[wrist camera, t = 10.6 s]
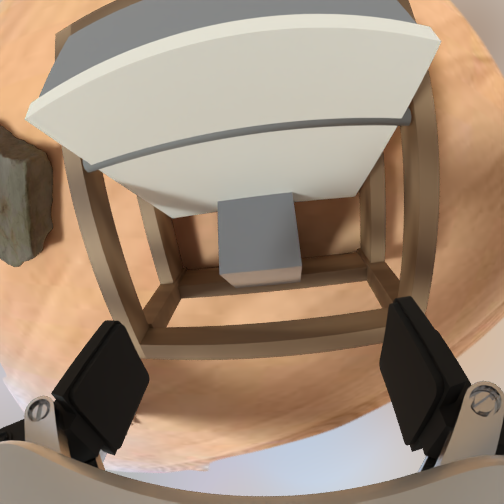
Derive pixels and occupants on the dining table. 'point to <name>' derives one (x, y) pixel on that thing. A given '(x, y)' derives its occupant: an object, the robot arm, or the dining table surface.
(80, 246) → the dining table surface
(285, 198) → the basalt block
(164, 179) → the hatch leaf
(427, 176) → the walnut hatch frame
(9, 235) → the marble piece
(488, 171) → the dining table surface
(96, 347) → the robot arm
